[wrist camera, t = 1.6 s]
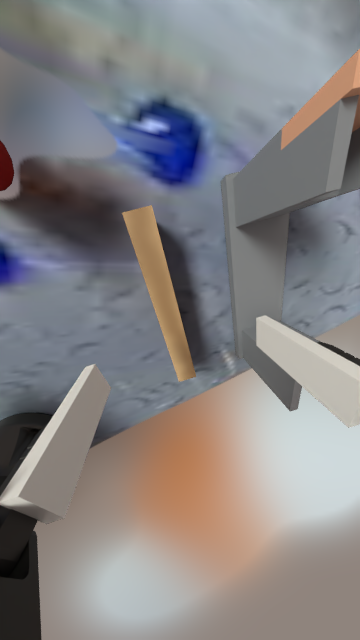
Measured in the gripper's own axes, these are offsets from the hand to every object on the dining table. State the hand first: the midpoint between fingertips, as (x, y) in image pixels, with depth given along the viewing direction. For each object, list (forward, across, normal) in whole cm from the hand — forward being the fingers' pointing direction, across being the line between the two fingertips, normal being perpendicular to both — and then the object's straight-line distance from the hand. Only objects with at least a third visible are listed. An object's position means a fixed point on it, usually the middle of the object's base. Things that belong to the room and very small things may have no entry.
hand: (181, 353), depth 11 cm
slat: (+14, 0, 0) cm, 14 cm away
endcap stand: (+14, +16, 0) cm, 21 cm away
